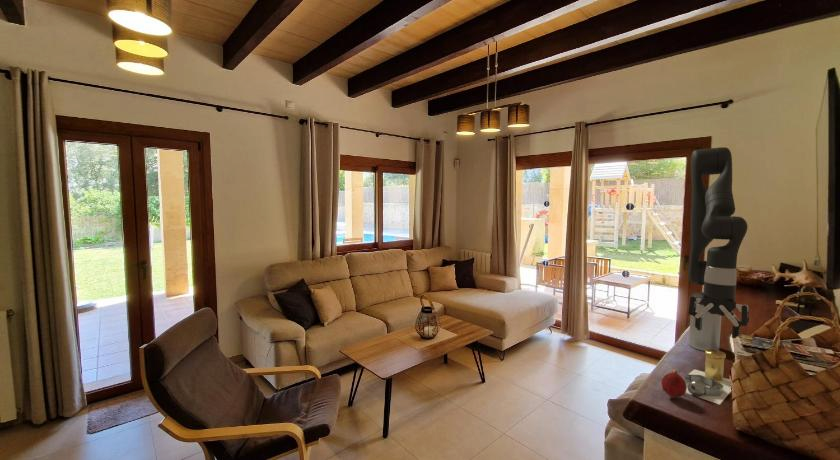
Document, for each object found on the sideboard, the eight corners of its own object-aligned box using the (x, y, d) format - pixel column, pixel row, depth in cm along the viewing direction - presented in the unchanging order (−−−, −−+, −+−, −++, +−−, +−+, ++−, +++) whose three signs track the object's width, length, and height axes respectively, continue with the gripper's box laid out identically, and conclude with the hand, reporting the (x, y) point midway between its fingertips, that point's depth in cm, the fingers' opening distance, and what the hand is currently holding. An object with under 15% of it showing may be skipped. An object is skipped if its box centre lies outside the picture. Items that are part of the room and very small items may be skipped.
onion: (686, 405, 99) (688, 377, 98) (661, 399, 102) (662, 371, 101) (684, 396, 104) (686, 369, 103) (660, 390, 107) (662, 364, 106)
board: (694, 372, 119) (694, 369, 119) (738, 385, 110) (738, 382, 110) (672, 391, 106) (672, 387, 106) (719, 408, 98) (719, 404, 98)
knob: (706, 372, 117) (707, 347, 116) (726, 378, 113) (727, 352, 112) (701, 376, 114) (702, 351, 113) (721, 382, 110) (723, 357, 109)
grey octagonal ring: (689, 378, 112) (690, 367, 112) (725, 389, 106) (726, 377, 105) (676, 389, 105) (677, 377, 105) (714, 402, 99) (714, 389, 98)
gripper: (753, 284, 108) (749, 338, 109) (695, 276, 119) (692, 325, 120) (747, 287, 103) (743, 343, 104) (687, 279, 114) (684, 329, 115)
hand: (716, 333), depth 112 cm, fingers open, 8 cm apart
